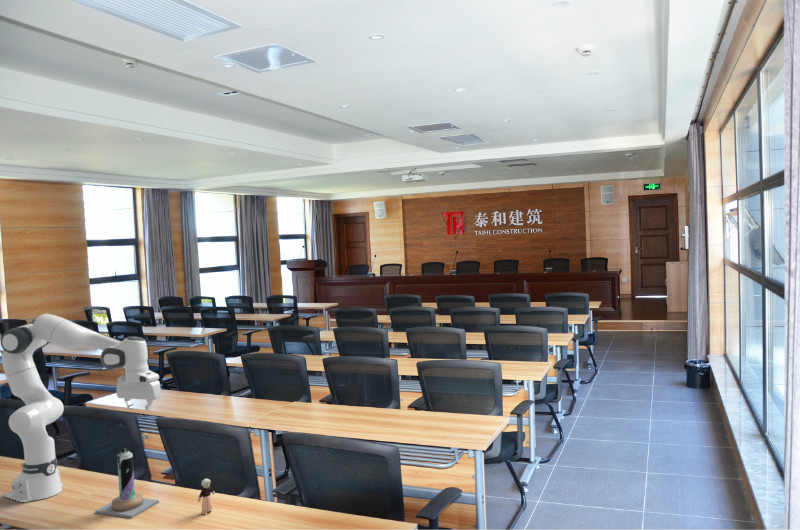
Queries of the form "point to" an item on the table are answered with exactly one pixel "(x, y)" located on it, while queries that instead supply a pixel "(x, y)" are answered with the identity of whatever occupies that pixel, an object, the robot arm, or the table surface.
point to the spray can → (126, 475)
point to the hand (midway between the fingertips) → (139, 409)
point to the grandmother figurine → (206, 496)
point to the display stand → (127, 506)
